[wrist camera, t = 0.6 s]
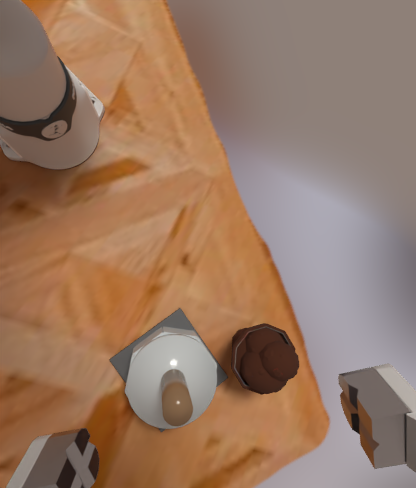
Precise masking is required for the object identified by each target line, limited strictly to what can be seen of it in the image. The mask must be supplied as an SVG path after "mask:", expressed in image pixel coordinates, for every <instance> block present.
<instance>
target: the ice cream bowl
mask: <svg viewBox="0 0 416 488" xmlns="http://www.w3.org/2000/svg"><path fill="white" fill-rule="evenodd" d="M231 367H232V370H233V372H234V374H235V375H236V377H237V379H238V380H239V382H240V384H241V385H242V387H243V388H245V389H248V390H251V391H253V392H256V393H259V394H269V393H273V392H278V391H279V390H281V389H282V388H283V387H284V386H285V385H286V382H287V381H288V379H291V378H294V376H295V375H296V374H297V370H298V368H299V361H298V355H297V354H296V353H295V347H294V346H293V344H292V342H291V341H290V339H289V337H288V335H287V334H286V332H285V331H283V330H281V329H279V328H276V327H274V326H271V325H269V324H264V323H263V324H260V325H256V326H253V327H250V328H244V329H241V330H238V331H237V333H236V334H235V335H234V336H233V340H232V360H231Z"/></svg>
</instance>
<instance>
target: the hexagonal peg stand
mask: <svg viewBox="0 0 416 488" xmlns="http://www.w3.org/2000/svg"><path fill="white" fill-rule="evenodd" d="M216 370H217V363H216V362H215V360H214V358H213V357H212V355H211V354H210V352H209V351H208V350H207V348H206V347H205V345H204V344H203V342H202V341H201V339H200V338H199V337H198V335H197V334H196V332H194V331H192V330H185V329H178V328H171V327H163V328H162V327H161V328H159V329H158V330H156V331H155V332H154V333H152V334H151V335H150V336H148V337H147V338H146V339H144V340H143V341H141V342H140V343H139V344H137V345H136V346H135V347H134V348H133V353H132V357H131V362H130V367H129V373H128V377H127V383H126V388H125V394H126V395H127V397H128V399H129V402H130V405H131V407H132V409H133V410H134V412H135V413H136V414H137V415H138V417H139V418H141V419H142V420H143V421H144V422H146V423H147V424H149V425H152V426H154V427H158V428H163V429H172V428H178V427H182V426H185V425H187V424H189V423H191V422H193V421H194V420H196V419H197V418H198V417H199V416H200V415H201V414H203V412H204V411H205V410H206V409H207V407H208V406H209V404H210V403H211V401H212V399H213V396H214V394H215V390H216V385H217V372H216Z"/></svg>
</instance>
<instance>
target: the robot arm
mask: <svg viewBox="0 0 416 488" xmlns="http://www.w3.org/2000/svg"><path fill="white" fill-rule="evenodd" d="M93 102H95V103H94V104H93ZM104 111H105V108H104V106H103V104H102V102H101V101H100V100H99V99H98V98H97V97H96V96H95V95H94V94H93V93H92V92H91V91H90V90H89V89H88V88H87V87H86V86H85V85H84V84H83V83H82V82H81V81H80V80H79V79H78V78H77V77H76V76H75V75H74V74H73V73H72V72H71V71H70V70H69V69H68V68H67V67H66V66H65V65H64V64H63V62H62V61H61V59H60V58H59V57H58V56H57V55H56V53H55V51H54V48H53V46H52V44H51V42H50V40H49V38H48V36H47V33H46V31H45V29H44V27H43V25H42V23H41V22H40V20H39V19H38V17H37V16H36V15H35V14H34V13H33V11H32V10H31V9H30V8H29V7H28V6H27V5H25V4H24V3H23V2H22V1H21V0H0V145H1V148H2V150H3V152H4V154H5V155H6V156H7V157H8V158H9V159H11V160H15V161H28V162H31V163H34V164H36V165H39V166H41V167H44V168H49V169H67V168H71V167H74V166H76V165H79V164H80V163H82V162H84V161H85V160H86V159H87V158H88V157H89V156H90V155H91V154H92V153H93V151H94V150H95V148H96V146H97V143H98V139H99V124H100V121H101V119H102V117H103V114H104ZM8 146H9V147H10V148H8ZM338 379H339V385H340V387H341V388H342V390H343V392H342V393H341V395H340V397H341V404H342V408H343V411H344V414H345V416H346V418H347V421H348V422H349V424H350V426H351V428H352V430H354V431H356V432H357V433H358V434H360V441H361V446H362V447H363V449H364V451H365V453H366V455H367V456H368V458H369V460H370V461H371V463H372V465H373V467H374V468H375V469H377V468H383V467H389V466H395V465H401V464H407V466H408V467H409V468H411V469H412V470H413V471H414V472H416V391H415V390H414V389H413V388H412V387H411V385H410V384H409V383H408V382H407V381H406V380H405V379H404V378H403V377H402V376H401V375H400V374H399V373H398V372H397V370H395V368H394V367H393V366H392V365H390V364H384V365H379V366H375V367H371V368H365V369H361V370H356V371H352V372H347V373H343V374H339V378H338ZM89 438H90V434H89V433H88V431H87V429H86V428H82V429H76V430H71V431H65V432H59V433H54V434H50V435H44V436H39V437H37V438H36V439H35V440H34V441H33V442H32V443H31V445H30V447H29V448H28V450H27V452H26V454H25V455H24V457H23V459H22V460H21V462H20V464H19V466H18V467H17V469H16V471H15V473H14V474H13V476H12V478H11V480H10V481H9V483H8V485H7V486H6V488H90V487H91V486H92V485H93V484H94V482H95V480H96V477H97V474H98V469H99V455H98V451H97V449H96V446H95V445H93V444H91V443H90V442H88V441H89Z"/></svg>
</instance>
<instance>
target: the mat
mask: <svg viewBox="0 0 416 488" xmlns="http://www.w3.org/2000/svg"><path fill="white" fill-rule="evenodd" d="M161 327H162V328H163V327H171V328H178V329H185V330H192V331H194V332H196V330H195V329H194V327H193V326H192V324H191V323H190V322H189V320H188V319H187V317H186V316H185V314H184V313H183V311H182V310H181V309H180V308H179V309H178V310H177V311H175V312H174V313H172V314H171V315H170V316H168V317H167V318H166V319H164V320H163V321H161V322H160V323H159V324H157V325H156V326H155V327H153V328H152V329H151V330H149V331H148V332H146V333H145V334H144V335H142V336H141V337H140V338H138V339H137V340H135V341H134V342H133V343H131V344H130V345H129V346H127V347H126V348H124V349H123V350H122V351H120V352H119V353H118V354H116V355H115V356H113V357H112V358H111V359H110V362H111V363H112V364H113V366H114V367H115V368H116V370H117V371H118V373H119V374H120V375H121V377H122V378H123V380H124V381H125V382H126V383H127V377H128V373H129V367H130V362H131V357H132V353H133V348H134V347H135V346H136V345H137V344H139V343H140V342H141V341H143V340H144V339H146V338H147V337H148V336H150V335H151V334H152V333H154V332H155V331H156V330H158V329H159V328H161ZM196 334H197V335H198V333H197V332H196ZM198 337H199V338H200V339H201V337H200V336H199V335H198ZM201 341H202V342H203V340H202V339H201ZM203 344H204V345H205V343H204V342H203ZM205 347H206V348H207V346H206V345H205ZM207 350H208V351H209V352H210V350H209V349H208V348H207ZM210 354H211V355H212V353H211V352H210ZM212 357H213V358H214V356H213V355H212ZM214 360H215V362H216V363H217V370H216V372H217V385H216V387H217V386H219V385H220V384H221V383H222V382H223V381H225V380H226V379H227V378H228V376H227V375H226V374H225V372H224V371H223V369H222V368H221V366H220V365H219V363H218V362H217V361H216V359H215V358H214ZM159 430H160V431H161V432H162V431H164V430H165V429H163V428H159Z"/></svg>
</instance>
